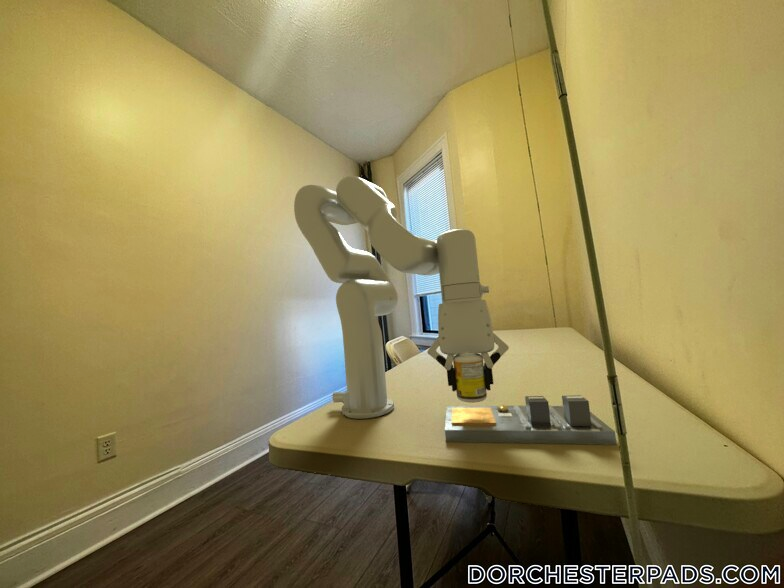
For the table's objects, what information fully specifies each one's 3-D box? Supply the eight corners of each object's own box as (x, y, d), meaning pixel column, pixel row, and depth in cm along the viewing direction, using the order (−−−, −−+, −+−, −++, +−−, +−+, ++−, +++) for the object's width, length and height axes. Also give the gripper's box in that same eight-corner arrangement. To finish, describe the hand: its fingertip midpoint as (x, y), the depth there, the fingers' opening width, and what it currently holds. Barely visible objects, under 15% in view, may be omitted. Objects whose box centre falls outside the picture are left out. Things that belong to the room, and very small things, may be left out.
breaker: (571, 425, 48) (568, 400, 48) (564, 418, 50) (561, 394, 51) (591, 426, 47) (588, 399, 47) (583, 418, 50) (580, 394, 50)
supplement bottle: (458, 394, 59) (453, 343, 59) (487, 394, 57) (482, 342, 57) (455, 403, 53) (449, 347, 54) (486, 404, 51) (480, 346, 52)
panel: (445, 441, 50) (442, 405, 50) (447, 415, 62) (445, 386, 62) (616, 444, 45) (611, 403, 45) (582, 415, 56) (579, 383, 57)
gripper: (504, 291, 58) (514, 382, 57) (419, 299, 62) (427, 385, 61) (511, 289, 51) (523, 393, 50) (414, 298, 54) (423, 396, 53)
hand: (470, 387), depth 55 cm, fingers closed on supplement bottle, 5 cm apart
